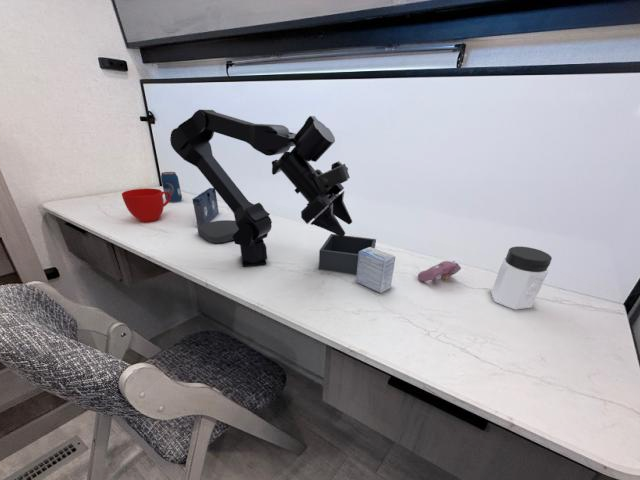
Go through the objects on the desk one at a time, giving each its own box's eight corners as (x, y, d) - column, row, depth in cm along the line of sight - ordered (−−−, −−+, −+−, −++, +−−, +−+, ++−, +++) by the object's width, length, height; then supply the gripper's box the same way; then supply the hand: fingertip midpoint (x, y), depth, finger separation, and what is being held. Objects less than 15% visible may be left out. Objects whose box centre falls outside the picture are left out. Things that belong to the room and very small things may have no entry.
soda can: (162, 202, 136) (156, 173, 130) (171, 198, 142) (165, 171, 136) (177, 203, 136) (171, 174, 129) (185, 199, 141) (180, 172, 135)
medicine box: (391, 288, 75) (396, 255, 71) (380, 294, 73) (385, 261, 68) (366, 277, 80) (370, 246, 76) (355, 282, 77) (358, 250, 73)
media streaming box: (213, 245, 95) (211, 236, 94) (194, 233, 104) (193, 224, 103) (254, 236, 103) (253, 227, 102) (233, 225, 113) (232, 217, 111)
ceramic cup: (184, 216, 120) (178, 189, 115) (142, 227, 108) (134, 198, 102) (163, 210, 126) (157, 185, 120) (122, 220, 113) (113, 192, 108)
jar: (506, 311, 68) (527, 262, 62) (482, 293, 75) (499, 247, 68) (539, 307, 70) (563, 259, 63) (513, 290, 76) (532, 245, 70)
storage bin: (318, 269, 83) (319, 250, 80) (330, 250, 95) (330, 233, 92) (368, 276, 81) (370, 257, 78) (373, 256, 92) (376, 239, 89)
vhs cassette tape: (213, 212, 125) (209, 187, 120) (220, 213, 125) (216, 187, 120) (196, 227, 109) (190, 199, 104) (204, 227, 109) (199, 199, 104)
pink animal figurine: (424, 290, 78) (439, 273, 72) (414, 276, 80) (428, 259, 74) (451, 282, 82) (467, 266, 76) (442, 270, 84) (457, 253, 78)
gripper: (316, 154, 57) (369, 218, 60) (337, 145, 72) (378, 197, 76) (279, 194, 63) (329, 250, 66) (306, 178, 78) (345, 225, 81)
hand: (347, 228), depth 72 cm, fingers open, 9 cm apart
